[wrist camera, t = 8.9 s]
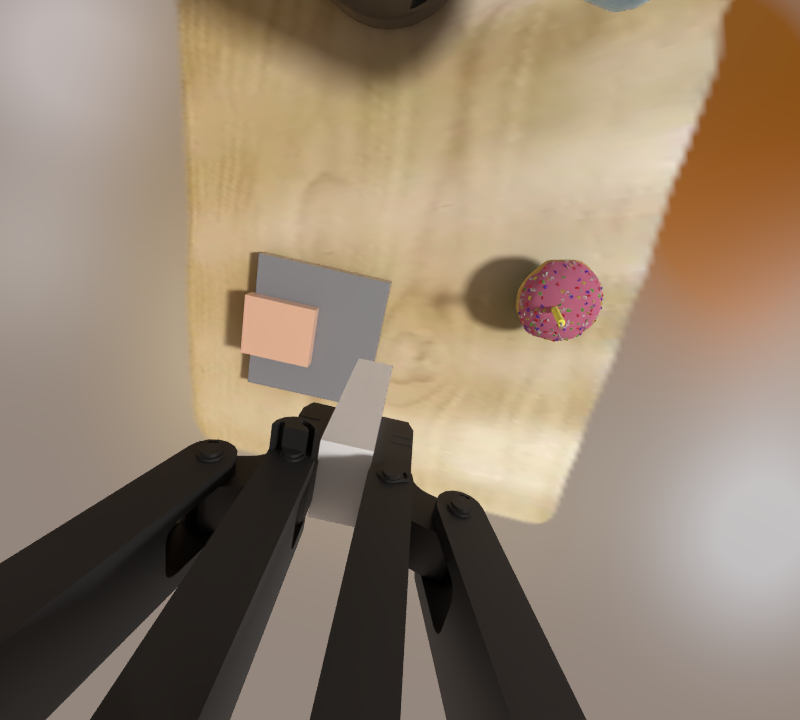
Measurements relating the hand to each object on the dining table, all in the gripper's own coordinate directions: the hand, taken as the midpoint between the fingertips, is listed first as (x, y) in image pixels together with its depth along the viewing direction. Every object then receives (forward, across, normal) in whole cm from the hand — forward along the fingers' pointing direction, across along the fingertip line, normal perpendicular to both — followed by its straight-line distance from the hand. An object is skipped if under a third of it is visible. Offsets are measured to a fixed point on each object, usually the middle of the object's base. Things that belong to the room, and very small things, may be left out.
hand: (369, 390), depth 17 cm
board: (+30, -9, -8) cm, 33 cm away
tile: (+28, -9, -8) cm, 31 cm away
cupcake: (+31, +16, +2) cm, 35 cm away
